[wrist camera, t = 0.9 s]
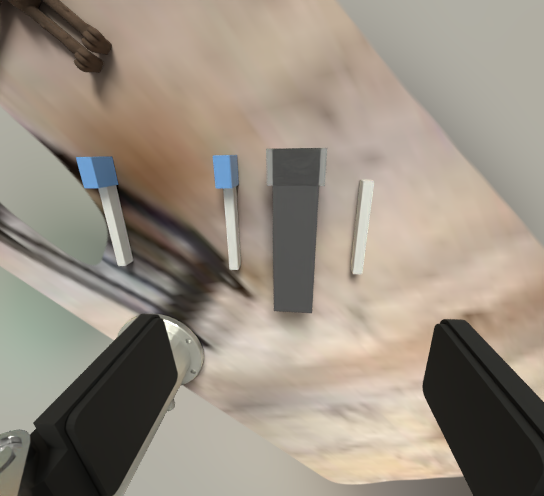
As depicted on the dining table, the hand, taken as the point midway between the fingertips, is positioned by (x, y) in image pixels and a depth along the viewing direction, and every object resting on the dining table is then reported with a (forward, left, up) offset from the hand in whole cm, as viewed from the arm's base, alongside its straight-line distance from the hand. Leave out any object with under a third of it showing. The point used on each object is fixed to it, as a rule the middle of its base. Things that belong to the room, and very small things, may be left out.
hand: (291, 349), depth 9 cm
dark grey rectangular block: (-1, 0, -20) cm, 20 cm away
